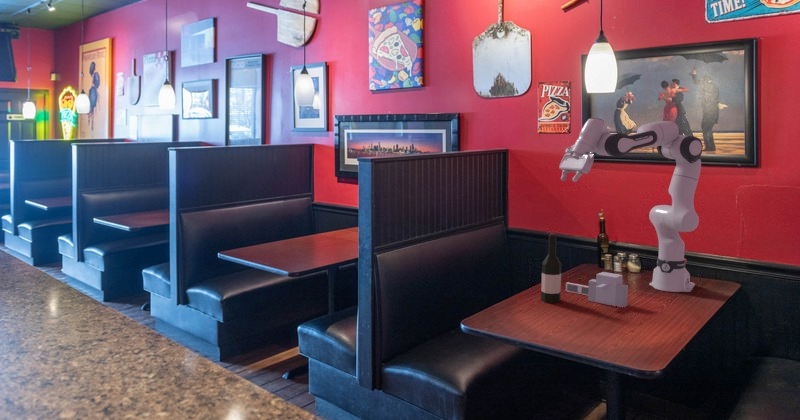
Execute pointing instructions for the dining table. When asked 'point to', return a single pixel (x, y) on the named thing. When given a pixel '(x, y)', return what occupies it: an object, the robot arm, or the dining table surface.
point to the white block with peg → (608, 290)
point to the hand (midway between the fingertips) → (568, 180)
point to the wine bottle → (551, 274)
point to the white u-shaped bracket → (577, 288)
